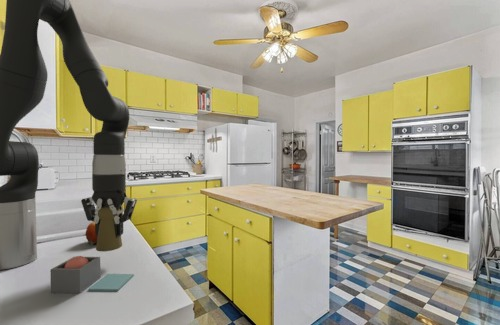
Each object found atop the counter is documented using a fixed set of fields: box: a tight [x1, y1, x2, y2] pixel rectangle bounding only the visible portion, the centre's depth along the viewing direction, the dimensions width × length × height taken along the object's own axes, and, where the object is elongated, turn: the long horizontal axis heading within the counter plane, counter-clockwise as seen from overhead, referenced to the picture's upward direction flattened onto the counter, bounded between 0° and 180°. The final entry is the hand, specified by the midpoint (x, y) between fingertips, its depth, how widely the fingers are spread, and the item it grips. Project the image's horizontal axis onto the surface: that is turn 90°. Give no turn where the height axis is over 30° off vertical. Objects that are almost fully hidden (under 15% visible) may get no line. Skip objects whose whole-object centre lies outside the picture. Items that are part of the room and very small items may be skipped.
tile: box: [87, 273, 135, 292], centre depth 54 cm, size 6×6×1 cm
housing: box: [50, 256, 102, 294], centre depth 53 cm, size 6×6×5 cm
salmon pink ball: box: [64, 255, 89, 268], centre depth 53 cm, size 5×5×5 cm
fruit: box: [85, 221, 98, 247], centre depth 79 cm, size 8×8×8 cm
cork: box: [95, 207, 123, 253], centre depth 62 cm, size 6×6×11 cm
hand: (109, 236), depth 62 cm, fingers closed on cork, 4 cm apart
